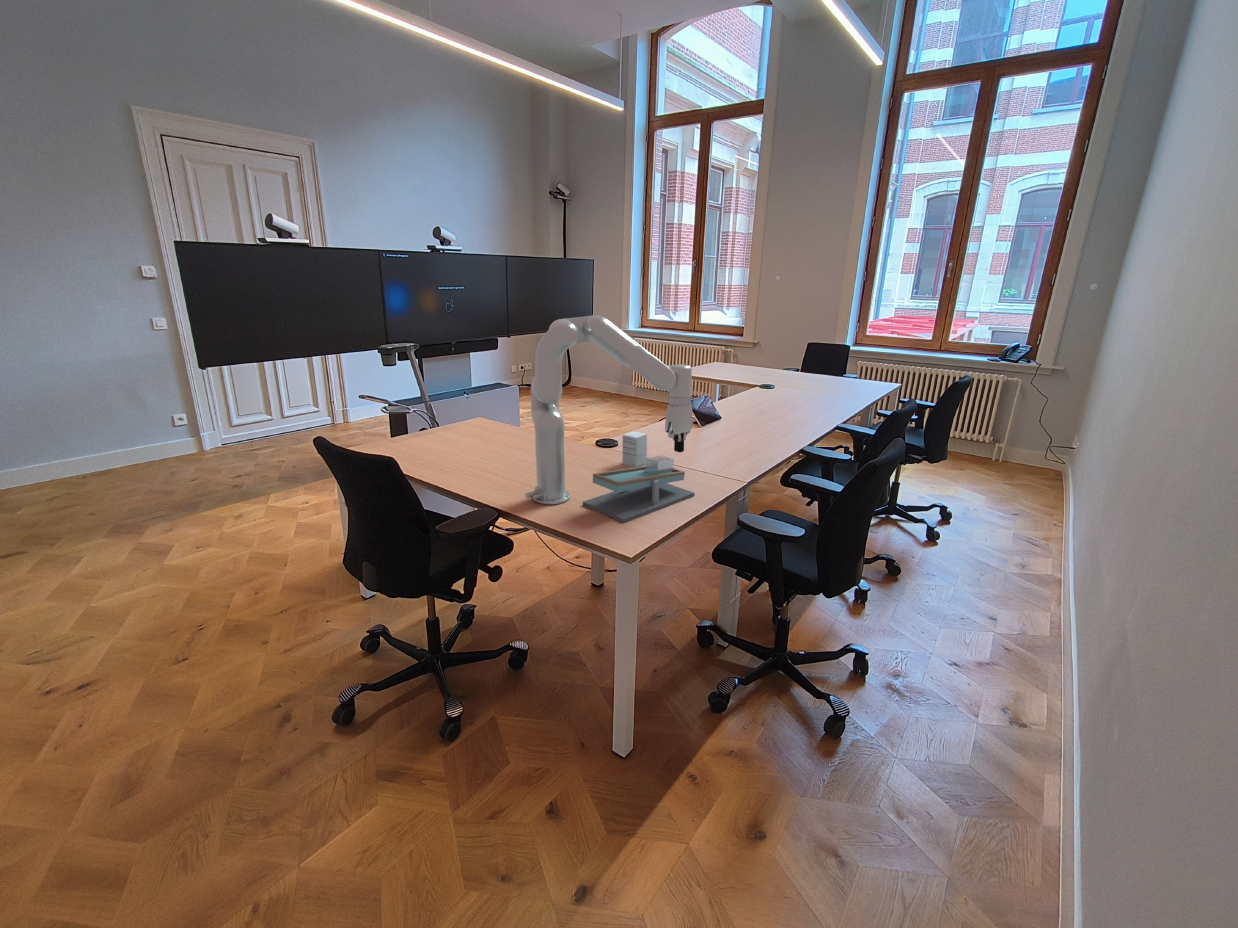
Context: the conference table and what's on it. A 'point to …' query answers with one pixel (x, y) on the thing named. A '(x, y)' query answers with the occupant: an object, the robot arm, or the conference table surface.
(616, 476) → the beam
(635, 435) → the supplement box
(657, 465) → the steel block
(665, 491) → the stand
